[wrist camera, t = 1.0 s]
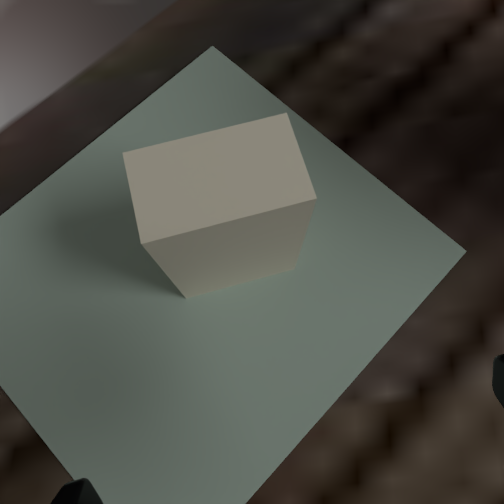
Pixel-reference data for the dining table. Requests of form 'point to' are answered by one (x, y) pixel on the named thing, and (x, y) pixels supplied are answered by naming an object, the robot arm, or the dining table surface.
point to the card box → (222, 204)
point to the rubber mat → (197, 310)
